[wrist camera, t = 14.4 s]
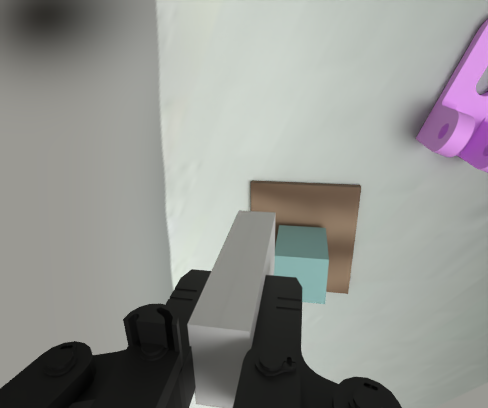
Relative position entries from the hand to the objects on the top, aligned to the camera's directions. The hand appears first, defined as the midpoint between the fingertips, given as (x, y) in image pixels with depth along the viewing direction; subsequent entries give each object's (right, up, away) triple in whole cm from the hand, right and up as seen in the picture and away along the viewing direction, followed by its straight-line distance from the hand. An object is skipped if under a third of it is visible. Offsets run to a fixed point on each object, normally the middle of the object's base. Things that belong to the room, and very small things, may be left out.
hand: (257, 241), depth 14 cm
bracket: (+22, +13, +18) cm, 31 cm away
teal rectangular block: (+6, -3, +25) cm, 26 cm away
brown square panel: (+6, -2, +27) cm, 28 cm away
